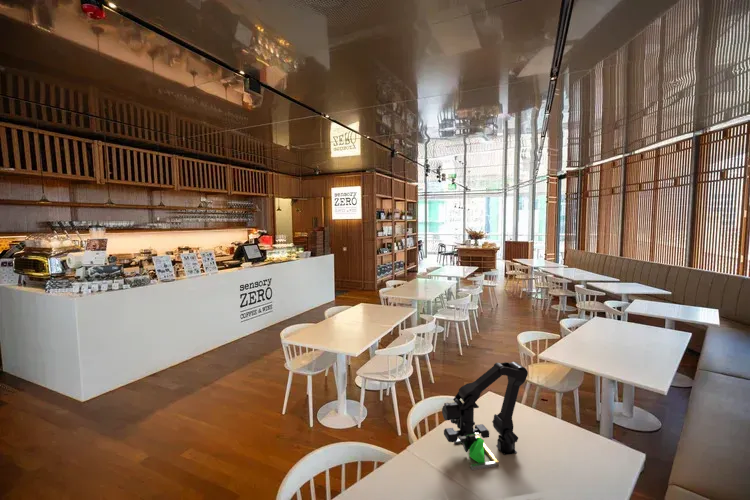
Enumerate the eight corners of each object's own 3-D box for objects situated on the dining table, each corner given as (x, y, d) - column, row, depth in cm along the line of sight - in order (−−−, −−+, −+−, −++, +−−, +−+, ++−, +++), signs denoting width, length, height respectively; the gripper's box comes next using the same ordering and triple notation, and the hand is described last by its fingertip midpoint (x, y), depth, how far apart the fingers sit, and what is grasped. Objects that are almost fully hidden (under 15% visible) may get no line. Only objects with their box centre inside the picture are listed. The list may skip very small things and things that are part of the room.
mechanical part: (482, 465, 137) (492, 451, 136) (469, 456, 138) (479, 442, 137) (480, 446, 149) (490, 433, 147) (469, 438, 150) (478, 425, 148)
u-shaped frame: (478, 439, 154) (478, 435, 154) (498, 465, 137) (498, 461, 137) (454, 442, 152) (454, 439, 152) (471, 470, 135) (471, 465, 135)
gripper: (477, 405, 152) (477, 437, 153) (439, 409, 149) (438, 442, 150) (490, 418, 141) (489, 453, 142) (449, 423, 138) (448, 459, 139)
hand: (466, 451), depth 144 cm, fingers closed
